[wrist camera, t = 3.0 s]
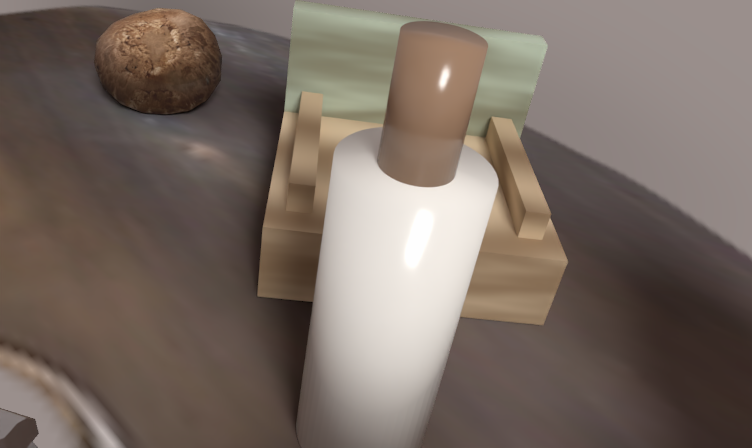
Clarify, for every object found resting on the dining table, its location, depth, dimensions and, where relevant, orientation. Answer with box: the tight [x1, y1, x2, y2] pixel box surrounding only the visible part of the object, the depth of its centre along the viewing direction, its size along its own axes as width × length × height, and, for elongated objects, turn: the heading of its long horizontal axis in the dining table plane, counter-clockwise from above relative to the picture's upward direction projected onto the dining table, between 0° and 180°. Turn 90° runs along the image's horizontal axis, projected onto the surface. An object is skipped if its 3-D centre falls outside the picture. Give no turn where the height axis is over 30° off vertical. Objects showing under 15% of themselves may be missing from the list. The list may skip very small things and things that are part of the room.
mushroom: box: [94, 8, 222, 114], centre depth 47 cm, size 8×8×6 cm
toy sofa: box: [257, 0, 568, 325], centre depth 37 cm, size 14×14×10 cm
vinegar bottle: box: [296, 21, 499, 448], centre depth 23 cm, size 5×5×16 cm
